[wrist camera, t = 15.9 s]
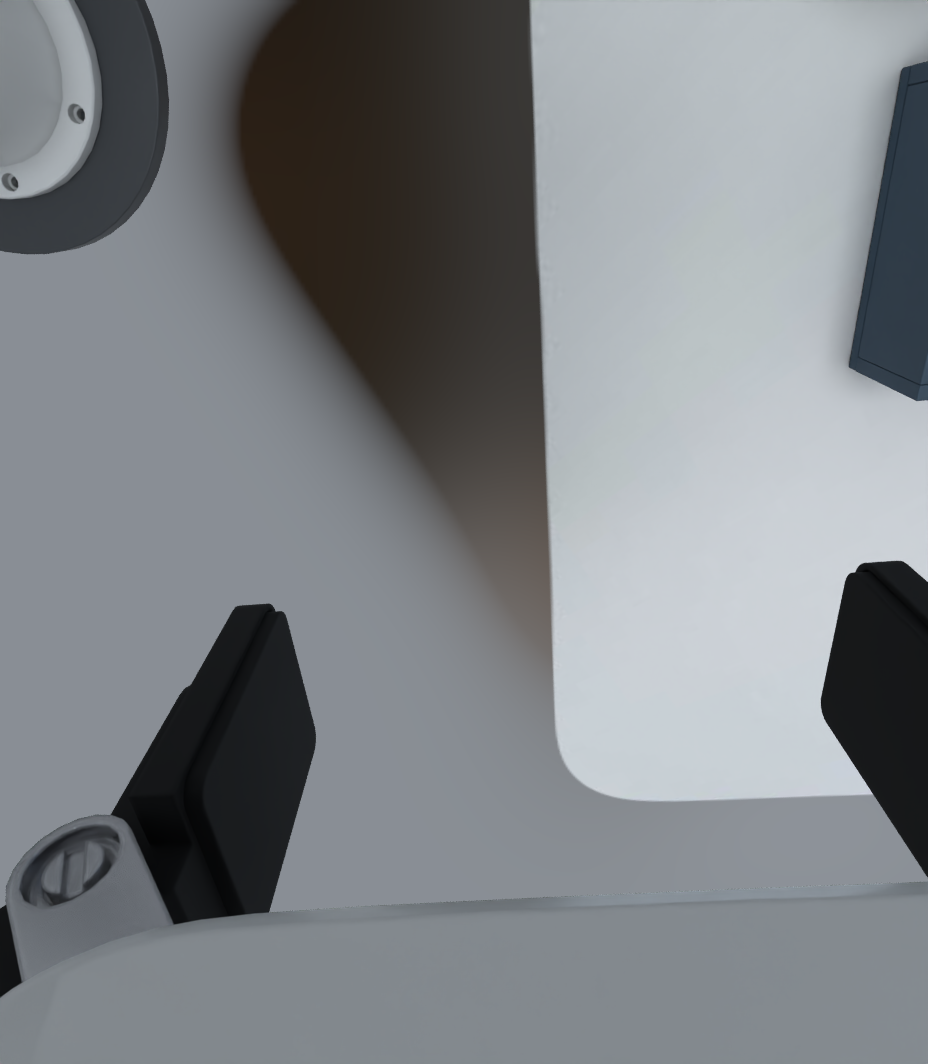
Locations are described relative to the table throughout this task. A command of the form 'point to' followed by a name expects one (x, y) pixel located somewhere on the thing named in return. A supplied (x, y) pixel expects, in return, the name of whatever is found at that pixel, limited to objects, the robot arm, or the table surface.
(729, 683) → the table surface
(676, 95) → the table surface
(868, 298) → the bin
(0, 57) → the robot arm
